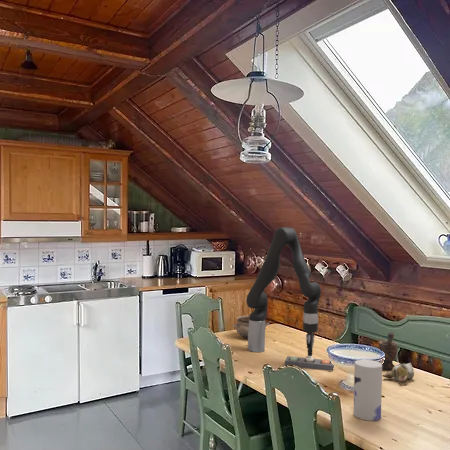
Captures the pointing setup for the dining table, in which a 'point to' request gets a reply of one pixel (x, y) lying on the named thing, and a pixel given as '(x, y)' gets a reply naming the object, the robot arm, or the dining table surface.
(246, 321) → the cooking pot
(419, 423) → the dining table surface
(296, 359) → the sage button
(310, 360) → the cream button
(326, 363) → the terracotta button
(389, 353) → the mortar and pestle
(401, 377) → the ceramic sculpture
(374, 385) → the container
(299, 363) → the control strip
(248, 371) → the dining table surface
